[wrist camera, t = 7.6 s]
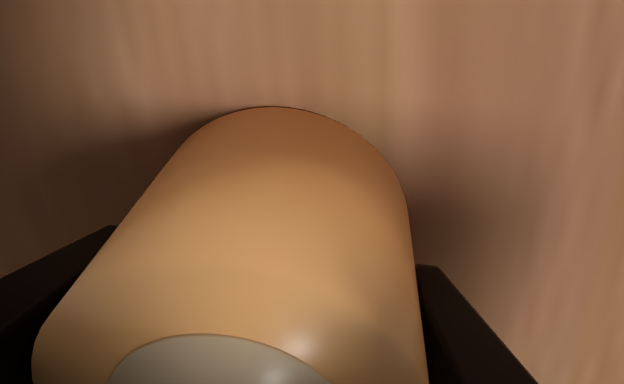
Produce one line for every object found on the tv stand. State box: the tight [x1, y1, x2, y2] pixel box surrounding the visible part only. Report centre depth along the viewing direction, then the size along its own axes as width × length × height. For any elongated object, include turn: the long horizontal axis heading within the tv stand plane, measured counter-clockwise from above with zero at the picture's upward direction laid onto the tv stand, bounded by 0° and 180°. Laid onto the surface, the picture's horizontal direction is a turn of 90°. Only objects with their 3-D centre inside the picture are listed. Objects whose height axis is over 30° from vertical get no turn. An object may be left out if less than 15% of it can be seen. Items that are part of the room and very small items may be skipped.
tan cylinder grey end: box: [31, 107, 429, 384], centre depth 8 cm, size 5×5×5 cm
